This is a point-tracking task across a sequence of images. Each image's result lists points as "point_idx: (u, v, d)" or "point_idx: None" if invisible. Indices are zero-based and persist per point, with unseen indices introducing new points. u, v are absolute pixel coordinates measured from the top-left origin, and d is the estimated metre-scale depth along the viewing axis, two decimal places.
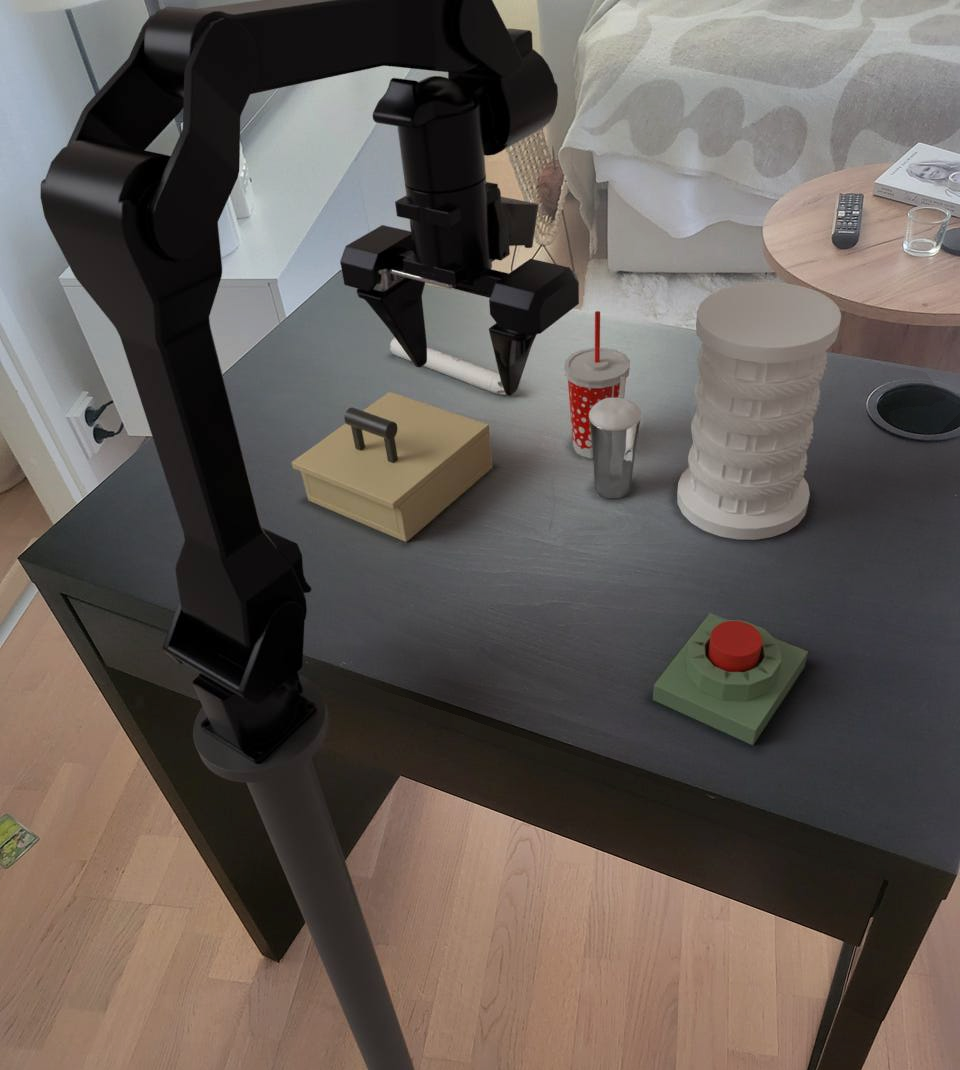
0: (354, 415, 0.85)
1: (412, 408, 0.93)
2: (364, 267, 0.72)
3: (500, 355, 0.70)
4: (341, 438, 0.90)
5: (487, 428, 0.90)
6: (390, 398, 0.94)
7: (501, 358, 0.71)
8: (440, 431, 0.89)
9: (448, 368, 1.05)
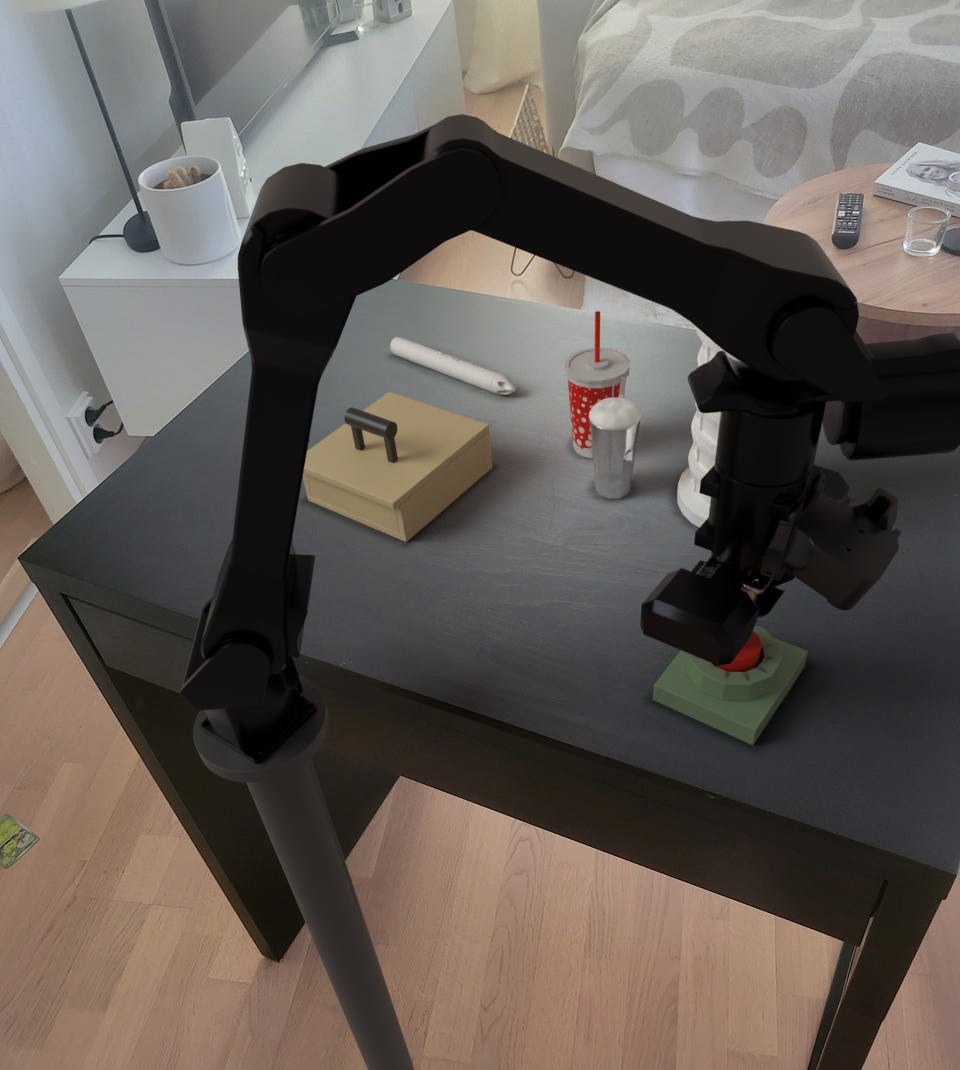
0: (354, 415, 0.85)
1: (412, 408, 0.93)
2: None
3: None
4: (341, 438, 0.90)
5: (487, 428, 0.90)
6: (390, 398, 0.94)
7: None
8: (440, 431, 0.89)
9: (448, 368, 1.05)
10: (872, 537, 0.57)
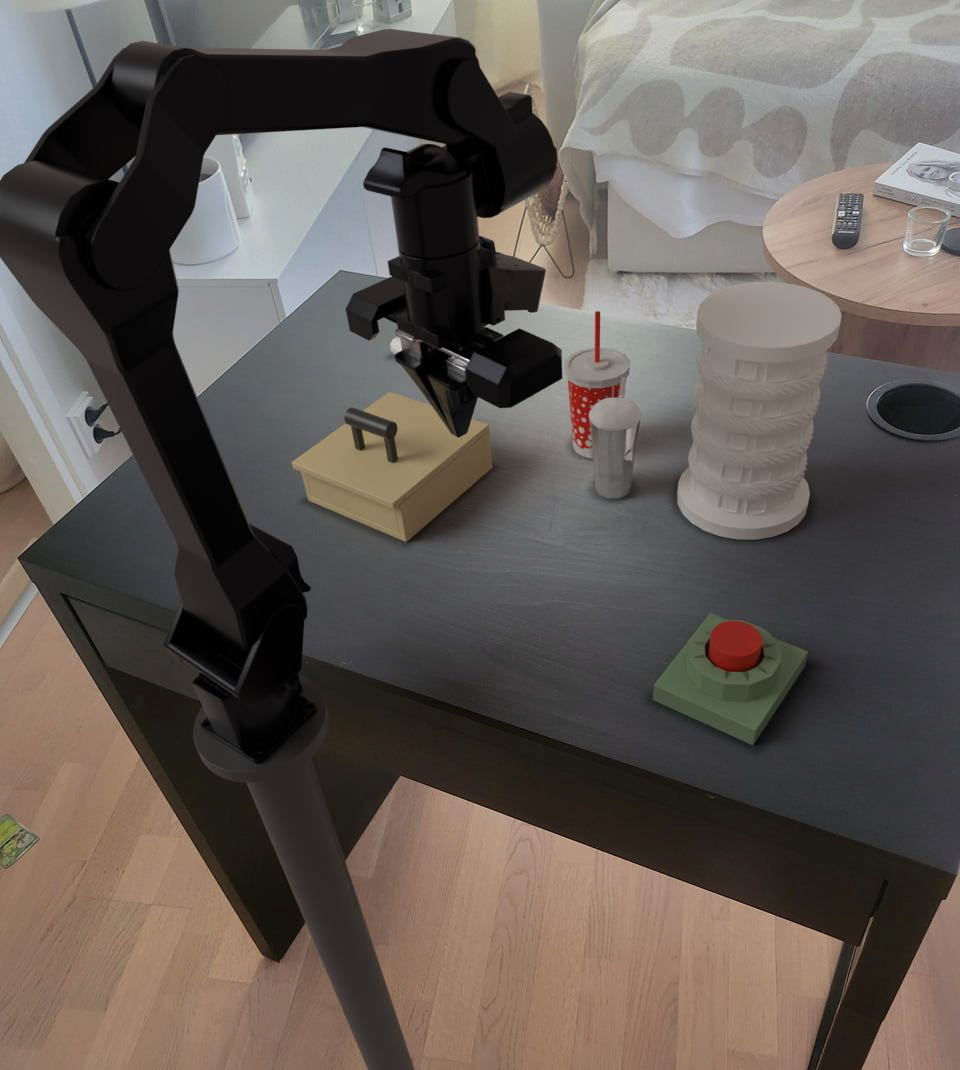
0: (354, 415, 0.85)
1: (412, 408, 0.93)
2: (364, 317, 0.73)
3: (441, 400, 0.72)
4: (341, 438, 0.90)
5: (487, 428, 0.90)
6: (390, 398, 0.94)
7: (443, 403, 0.73)
8: (440, 431, 0.89)
9: None
10: (504, 258, 0.72)
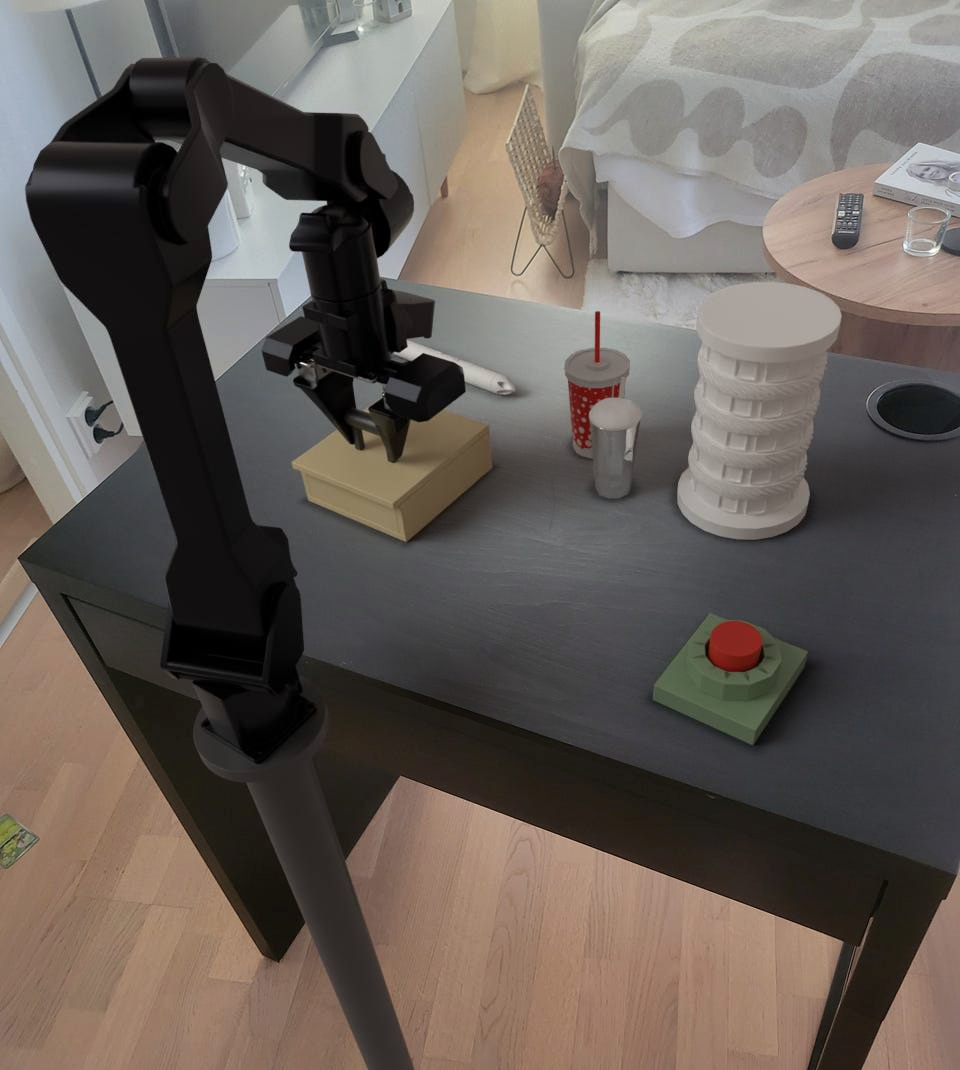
0: (354, 415, 0.85)
1: None
2: (281, 357, 0.82)
3: (380, 429, 0.81)
4: (341, 438, 0.90)
5: (487, 428, 0.90)
6: None
7: (382, 431, 0.82)
8: (440, 431, 0.89)
9: None
10: (397, 294, 0.83)
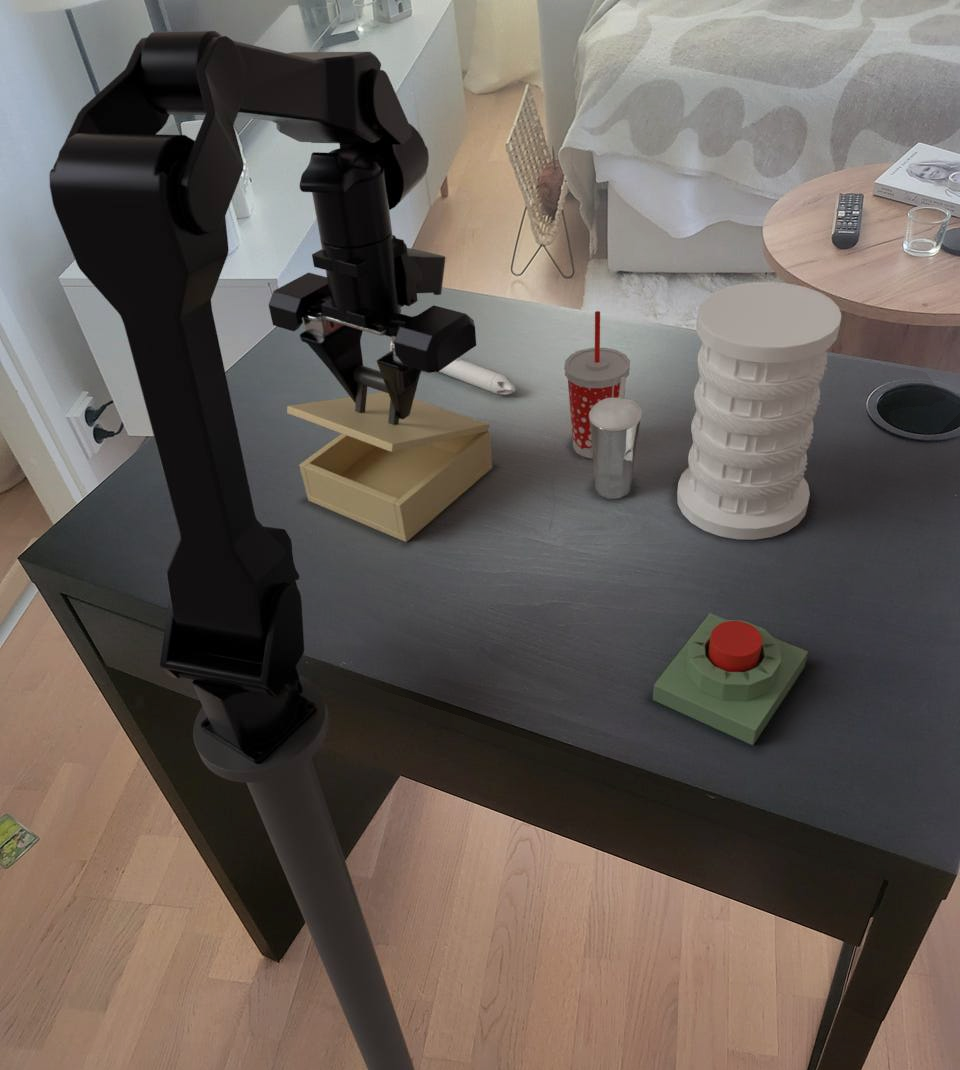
0: (365, 370, 0.84)
1: (413, 402, 0.93)
2: (288, 310, 0.81)
3: (389, 384, 0.80)
4: (340, 403, 0.88)
5: (487, 427, 0.90)
6: None
7: (390, 386, 0.80)
8: (441, 418, 0.89)
9: (448, 368, 1.05)
10: (407, 249, 0.82)
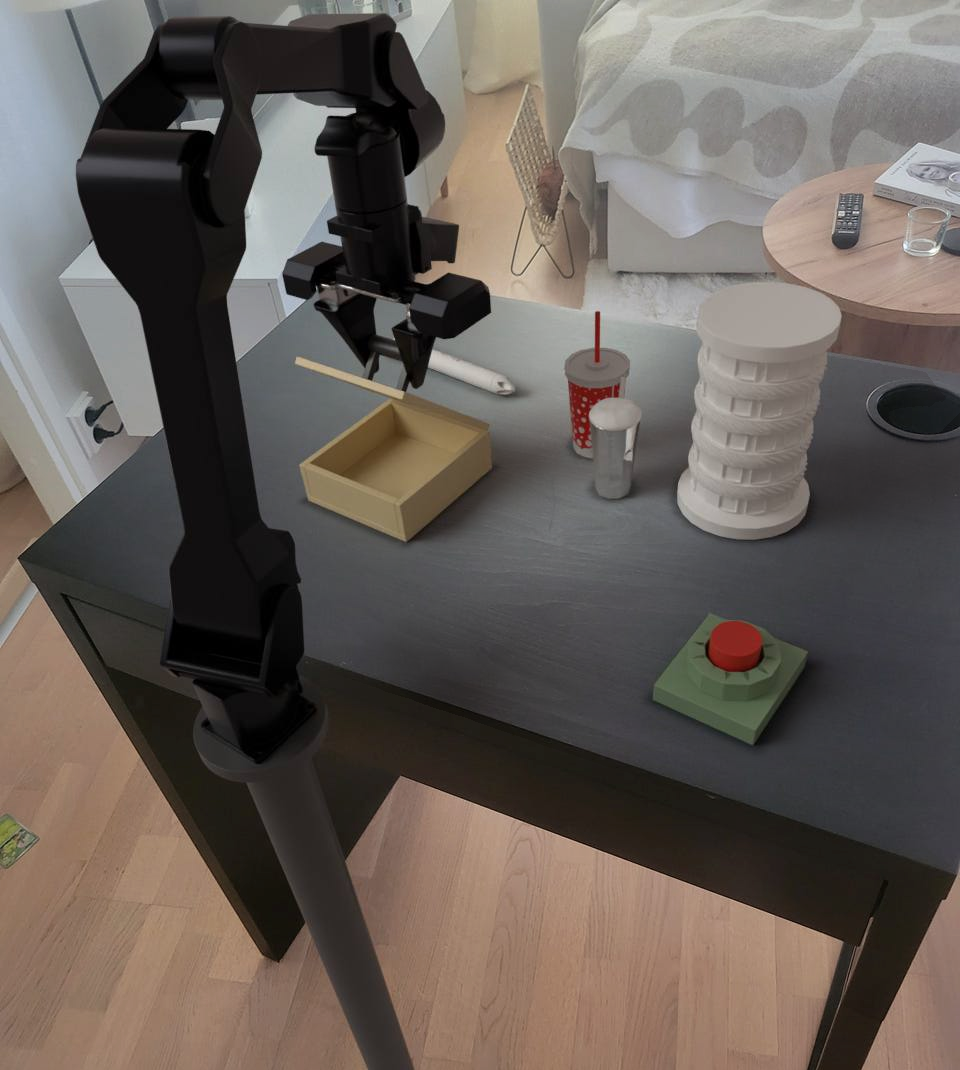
0: (381, 337, 0.84)
1: None
2: (302, 278, 0.81)
3: (403, 352, 0.80)
4: None
5: (487, 426, 0.90)
6: None
7: (404, 355, 0.80)
8: None
9: (448, 368, 1.05)
10: None
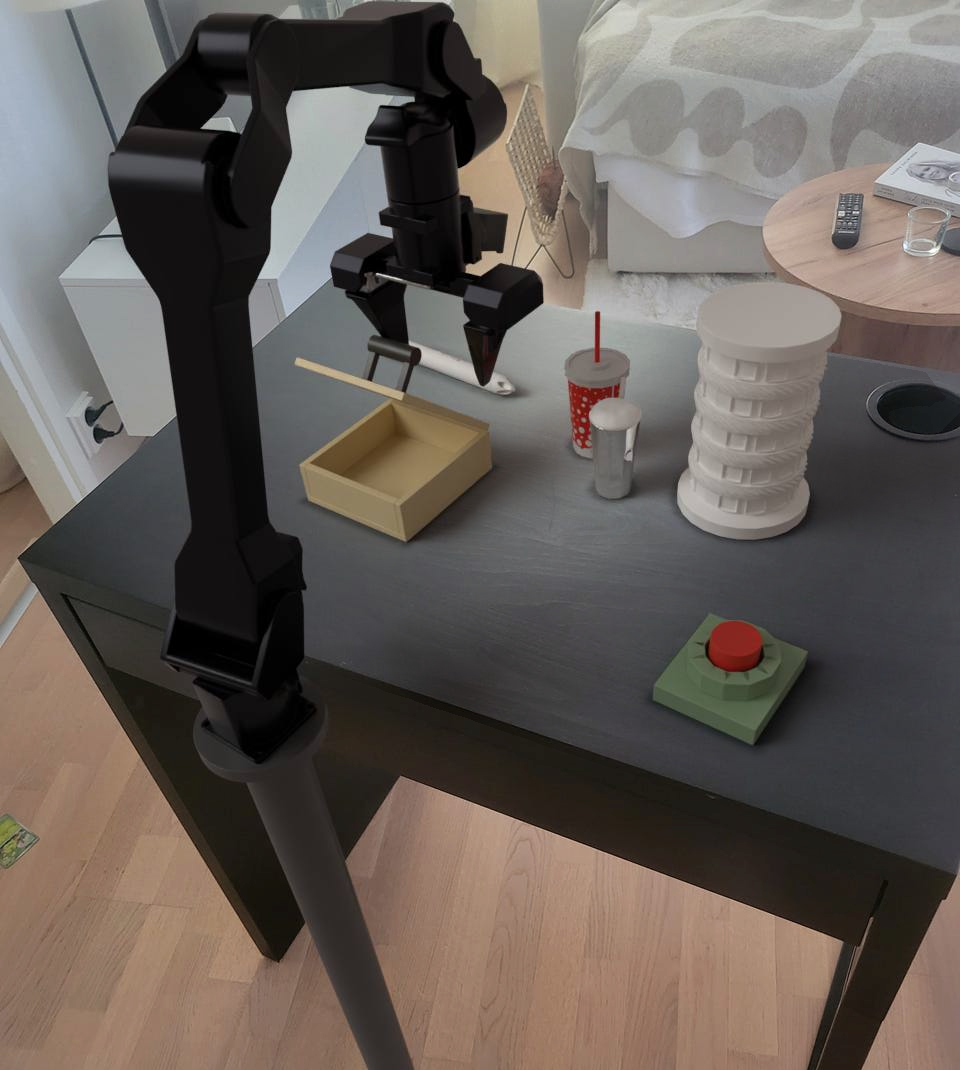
0: (381, 337, 0.84)
1: None
2: (351, 270, 0.80)
3: (474, 349, 0.78)
4: None
5: (487, 426, 0.90)
6: None
7: (474, 352, 0.79)
8: None
9: (448, 368, 1.05)
10: None
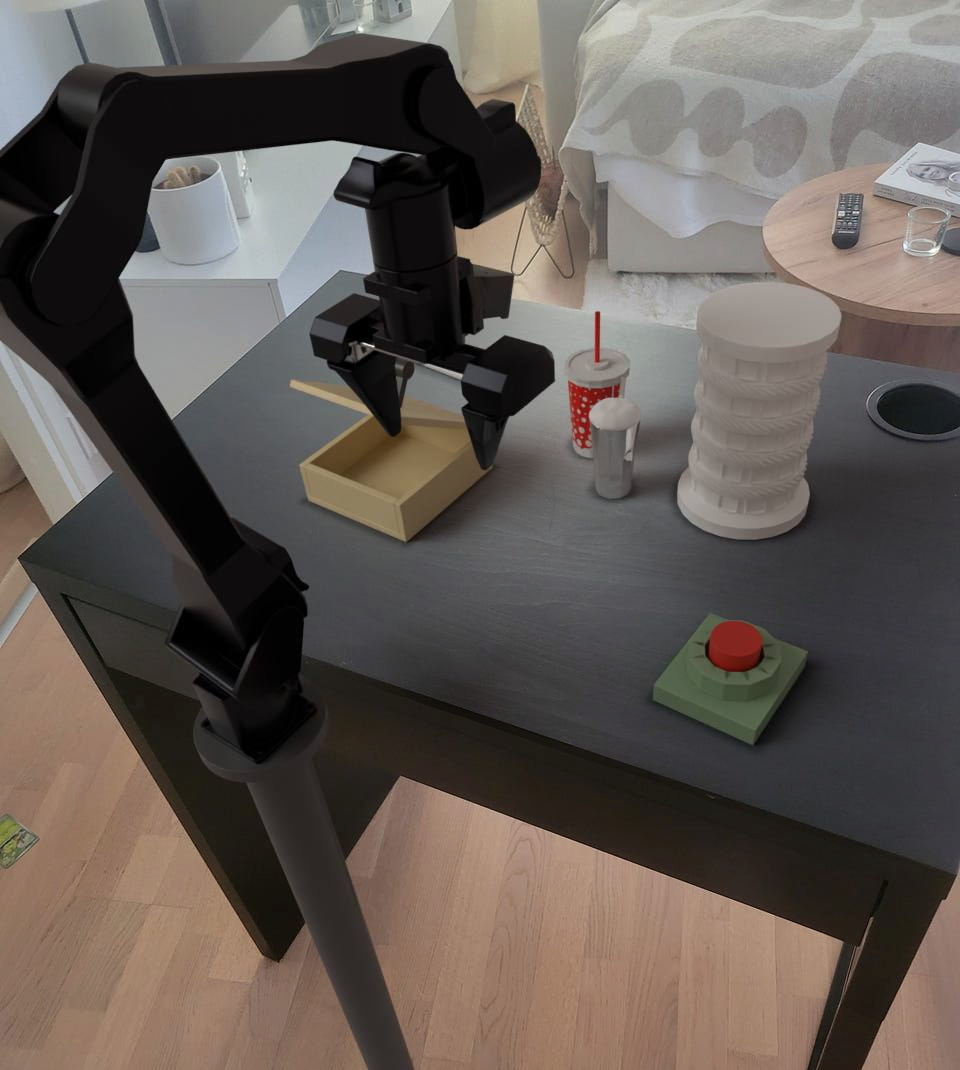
0: None
1: (414, 400, 0.92)
2: (333, 340, 0.69)
3: (474, 433, 0.68)
4: (343, 387, 0.88)
5: None
6: None
7: (475, 436, 0.68)
8: (443, 412, 0.89)
9: None
10: None
